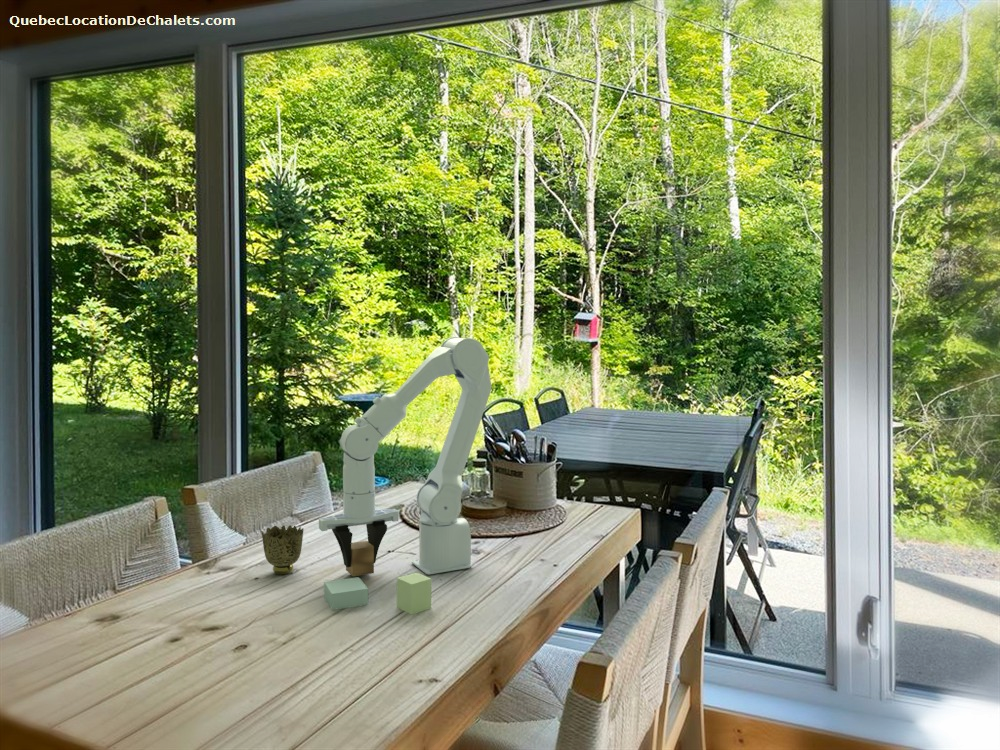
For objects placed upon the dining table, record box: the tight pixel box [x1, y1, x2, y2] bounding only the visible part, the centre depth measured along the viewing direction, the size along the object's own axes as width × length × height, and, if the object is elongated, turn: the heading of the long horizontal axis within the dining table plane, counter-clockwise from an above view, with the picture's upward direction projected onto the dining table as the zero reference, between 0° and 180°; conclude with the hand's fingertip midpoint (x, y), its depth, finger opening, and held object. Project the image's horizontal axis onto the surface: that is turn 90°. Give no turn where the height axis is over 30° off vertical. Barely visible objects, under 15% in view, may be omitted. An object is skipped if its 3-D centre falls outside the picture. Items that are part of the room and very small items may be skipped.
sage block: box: [396, 572, 432, 615], centre depth 125 cm, size 4×4×5 cm
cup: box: [261, 524, 304, 575], centre depth 141 cm, size 8×7×8 cm
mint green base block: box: [323, 576, 369, 611], centre depth 128 cm, size 6×6×3 cm
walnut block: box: [345, 540, 375, 577], centre depth 140 cm, size 4×4×5 cm
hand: (359, 563), depth 140 cm, fingers closed on walnut block, 4 cm apart
